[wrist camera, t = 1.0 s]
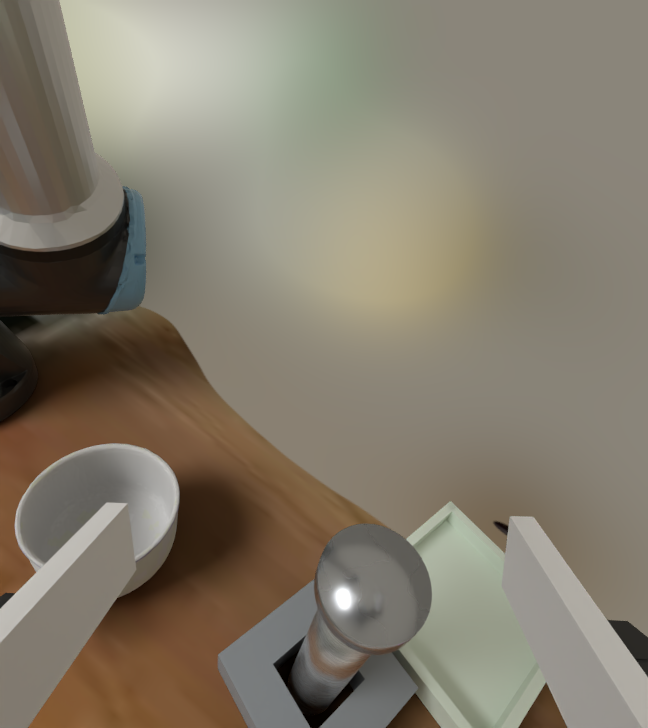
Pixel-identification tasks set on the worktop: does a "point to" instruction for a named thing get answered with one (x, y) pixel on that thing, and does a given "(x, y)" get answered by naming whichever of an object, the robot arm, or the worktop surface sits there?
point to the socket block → (269, 693)
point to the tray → (468, 632)
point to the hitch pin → (358, 610)
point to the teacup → (101, 504)
